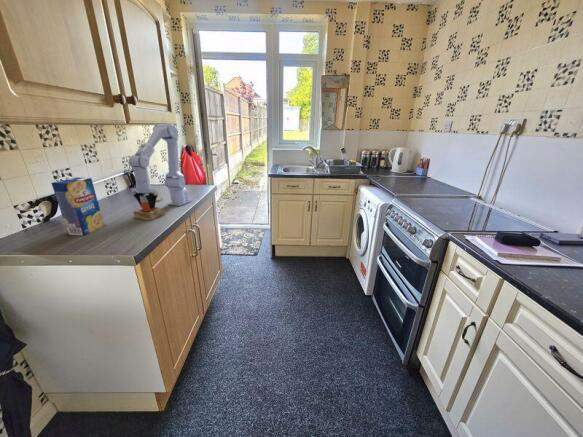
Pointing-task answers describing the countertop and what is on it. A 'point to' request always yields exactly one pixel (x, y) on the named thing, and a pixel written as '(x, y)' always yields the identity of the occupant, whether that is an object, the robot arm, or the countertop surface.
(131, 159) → the robot arm
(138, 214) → the holder
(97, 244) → the countertop surface
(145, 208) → the can
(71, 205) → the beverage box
